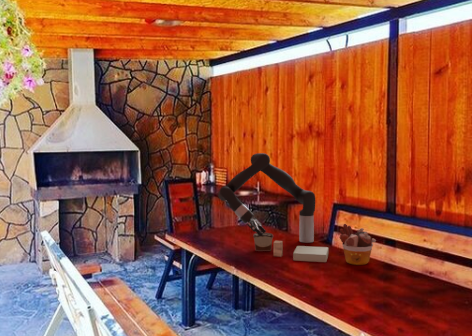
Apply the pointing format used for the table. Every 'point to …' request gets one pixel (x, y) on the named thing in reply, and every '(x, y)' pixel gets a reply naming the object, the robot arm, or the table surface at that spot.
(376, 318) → the table surface
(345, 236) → the bucket of meat
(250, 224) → the robot arm
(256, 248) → the food container
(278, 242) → the birch block
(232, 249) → the table surface
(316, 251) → the base board
